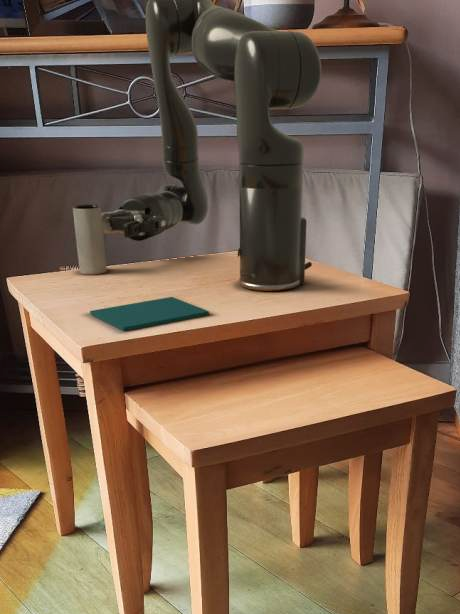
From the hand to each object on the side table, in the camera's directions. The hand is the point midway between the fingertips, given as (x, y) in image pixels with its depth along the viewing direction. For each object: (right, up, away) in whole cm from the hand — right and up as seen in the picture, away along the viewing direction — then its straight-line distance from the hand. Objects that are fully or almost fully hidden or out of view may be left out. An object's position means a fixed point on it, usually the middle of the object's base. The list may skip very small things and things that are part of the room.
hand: (103, 229), depth 126 cm
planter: (-2, -8, -1) cm, 8 cm away
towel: (+10, -21, -25) cm, 34 cm away
